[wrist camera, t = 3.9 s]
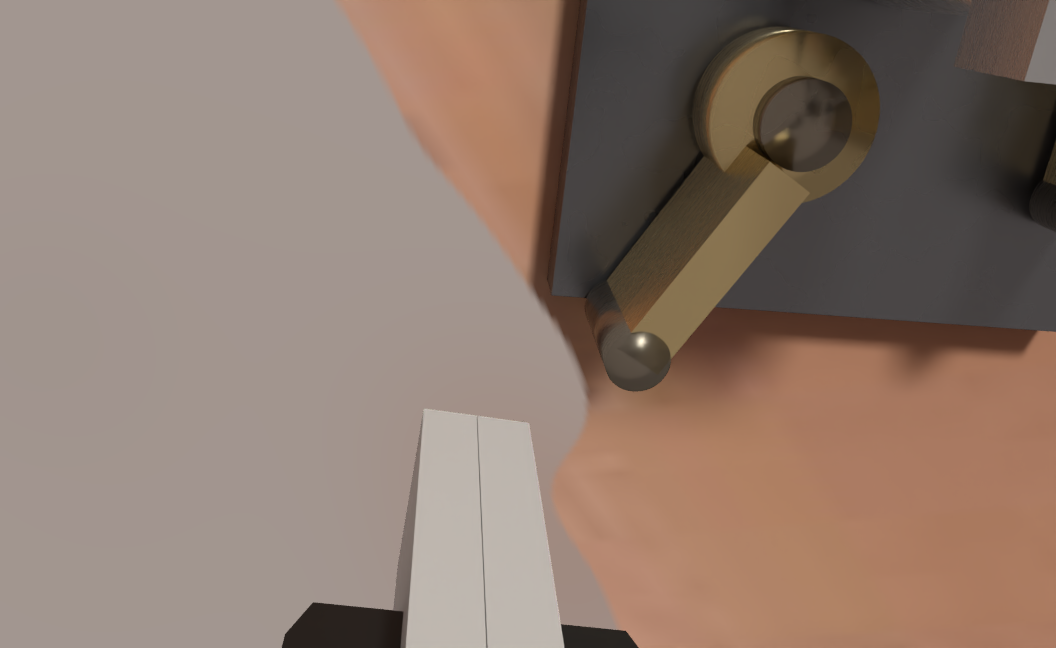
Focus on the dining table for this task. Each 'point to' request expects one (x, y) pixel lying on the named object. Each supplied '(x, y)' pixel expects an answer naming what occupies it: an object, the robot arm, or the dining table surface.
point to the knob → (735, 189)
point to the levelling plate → (869, 193)
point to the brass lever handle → (1045, 197)
